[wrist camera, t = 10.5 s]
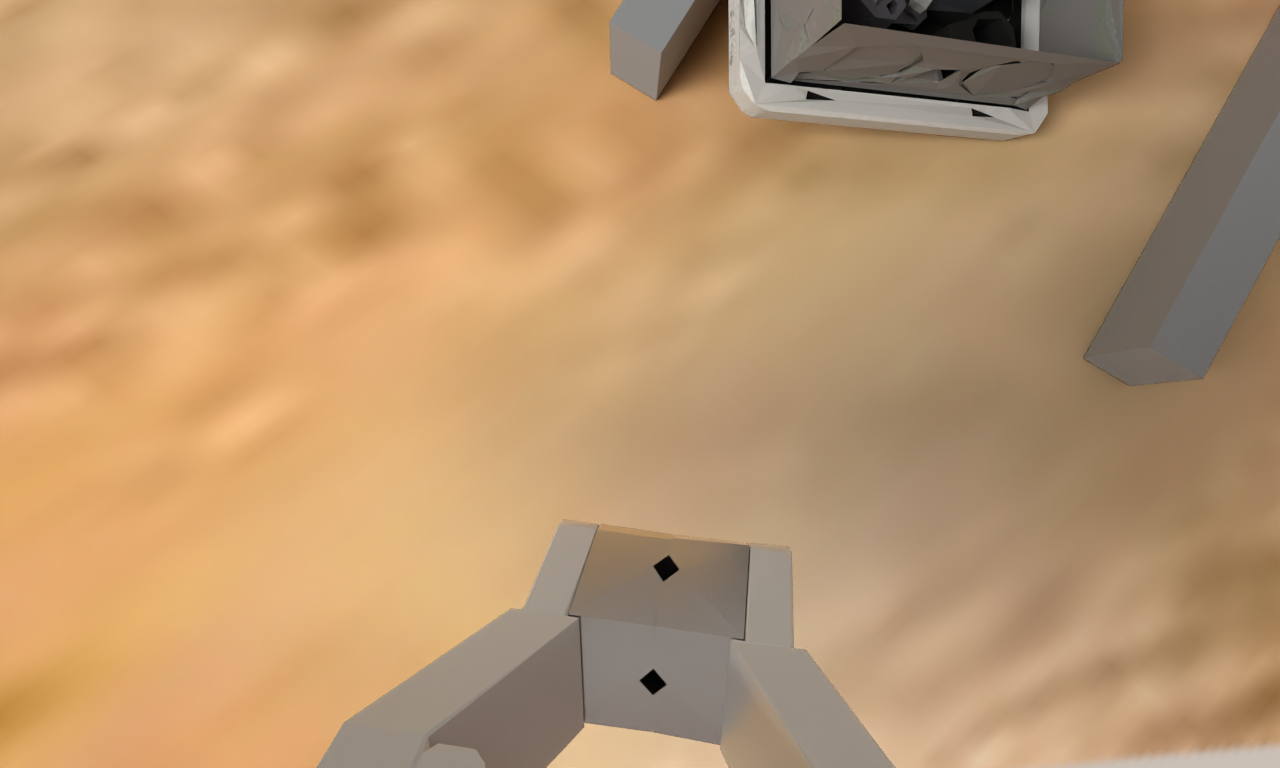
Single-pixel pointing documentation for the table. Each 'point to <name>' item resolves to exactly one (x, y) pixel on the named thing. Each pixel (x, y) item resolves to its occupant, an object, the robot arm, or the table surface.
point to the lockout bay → (1180, 245)
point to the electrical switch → (917, 61)
